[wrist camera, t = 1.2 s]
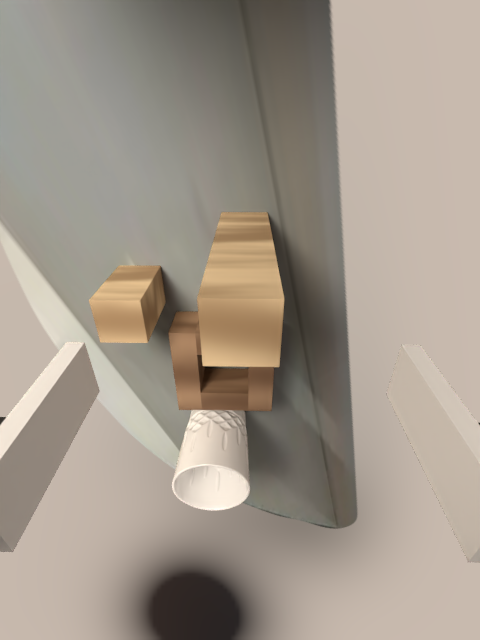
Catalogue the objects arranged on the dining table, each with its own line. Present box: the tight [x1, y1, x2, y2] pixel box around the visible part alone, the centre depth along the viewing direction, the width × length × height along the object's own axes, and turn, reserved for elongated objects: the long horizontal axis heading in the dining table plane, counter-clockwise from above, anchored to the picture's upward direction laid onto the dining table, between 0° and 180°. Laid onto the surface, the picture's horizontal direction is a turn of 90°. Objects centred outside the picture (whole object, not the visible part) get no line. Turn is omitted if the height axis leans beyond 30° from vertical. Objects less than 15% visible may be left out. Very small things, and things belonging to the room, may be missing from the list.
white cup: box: [172, 410, 250, 510], centre depth 38 cm, size 8×8×10 cm
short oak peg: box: [89, 266, 166, 343], centre depth 30 cm, size 4×4×7 cm
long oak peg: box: [197, 212, 284, 367], centre depth 23 cm, size 4×4×16 cm
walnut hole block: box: [168, 312, 274, 411], centre depth 35 cm, size 10×10×4 cm
